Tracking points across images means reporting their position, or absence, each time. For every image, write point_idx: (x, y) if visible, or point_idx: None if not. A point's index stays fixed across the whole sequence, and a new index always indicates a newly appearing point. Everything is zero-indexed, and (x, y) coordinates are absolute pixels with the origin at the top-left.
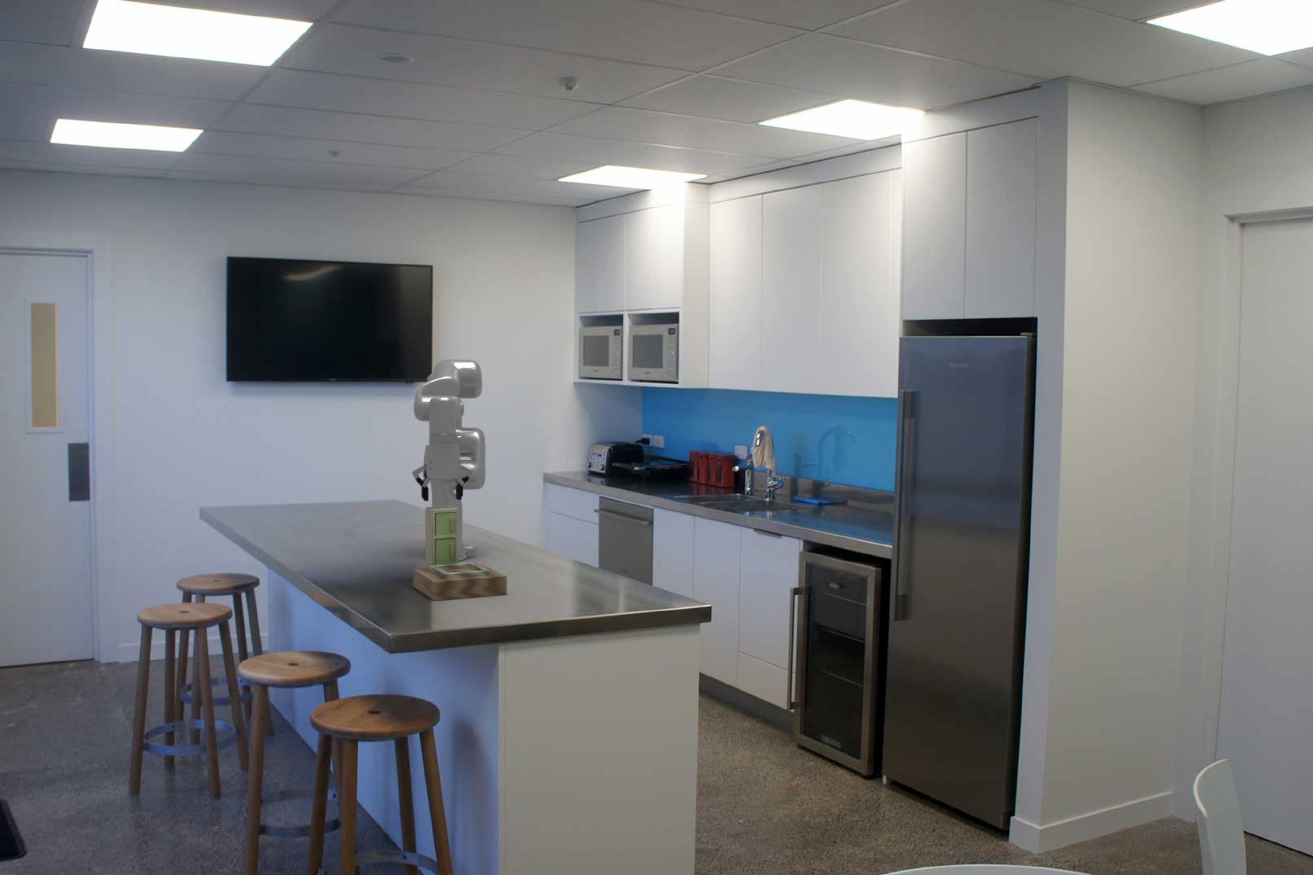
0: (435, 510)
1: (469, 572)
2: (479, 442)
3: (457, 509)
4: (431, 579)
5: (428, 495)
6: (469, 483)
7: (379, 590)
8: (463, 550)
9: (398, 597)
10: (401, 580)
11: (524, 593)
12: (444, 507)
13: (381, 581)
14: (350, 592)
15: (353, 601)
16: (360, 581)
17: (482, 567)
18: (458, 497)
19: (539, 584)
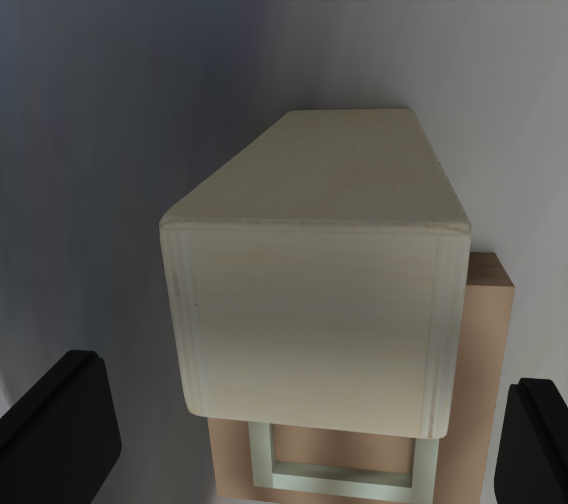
0: (221, 417)
1: (347, 495)
2: None
3: (436, 435)
4: (216, 464)
5: (91, 499)
6: None
7: (95, 256)
8: None
9: (144, 372)
10: (187, 101)
11: None
12: (343, 324)
13: (108, 91)
14: (7, 249)
15: (23, 366)
16: (29, 58)
17: (433, 443)
18: (501, 492)
19: None
